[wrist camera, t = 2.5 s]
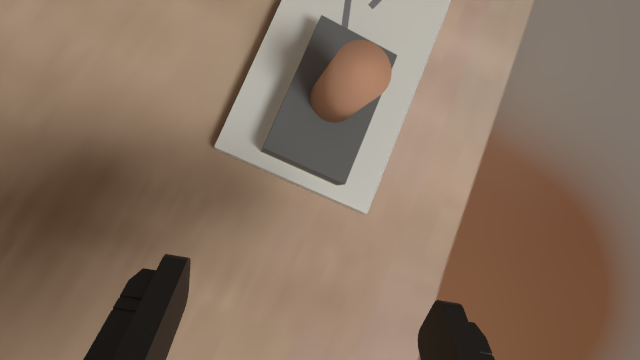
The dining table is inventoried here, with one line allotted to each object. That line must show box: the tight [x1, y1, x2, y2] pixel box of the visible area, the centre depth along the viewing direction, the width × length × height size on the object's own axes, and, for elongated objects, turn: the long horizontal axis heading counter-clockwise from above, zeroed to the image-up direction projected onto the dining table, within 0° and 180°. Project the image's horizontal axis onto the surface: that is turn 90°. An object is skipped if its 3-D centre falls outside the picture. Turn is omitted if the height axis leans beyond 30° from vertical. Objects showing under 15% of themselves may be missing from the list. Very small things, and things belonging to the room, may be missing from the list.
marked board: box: [214, 0, 451, 214], centre depth 31 cm, size 26×12×2 cm, turn 157°
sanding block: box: [261, 15, 397, 186], centre depth 25 cm, size 10×6×8 cm, turn 157°
